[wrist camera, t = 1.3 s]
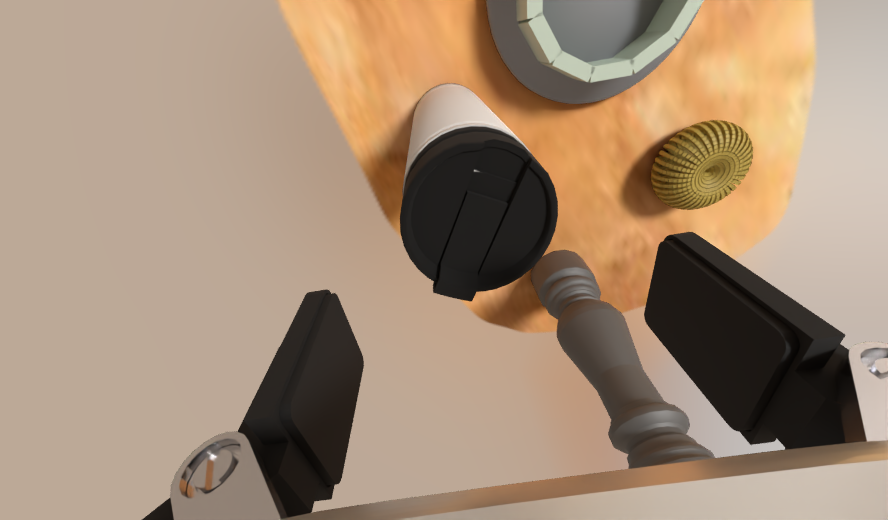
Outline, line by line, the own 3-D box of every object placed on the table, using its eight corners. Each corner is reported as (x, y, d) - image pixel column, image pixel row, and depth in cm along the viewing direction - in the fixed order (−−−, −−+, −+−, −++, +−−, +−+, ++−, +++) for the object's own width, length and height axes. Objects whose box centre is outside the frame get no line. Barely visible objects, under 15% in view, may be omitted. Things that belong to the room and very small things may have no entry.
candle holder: (547, 302, 41) (676, 573, 20) (520, 271, 38) (636, 548, 17) (593, 274, 39) (790, 543, 18) (568, 239, 36) (765, 509, 15)
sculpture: (752, 103, 26) (776, 177, 29) (714, 96, 29) (739, 163, 33) (652, 171, 28) (685, 232, 32) (628, 158, 32) (660, 214, 35)
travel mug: (403, 150, 30) (378, 284, 13) (425, 71, 27) (426, 117, 10) (468, 171, 32) (517, 316, 15) (496, 98, 28) (600, 178, 11)
